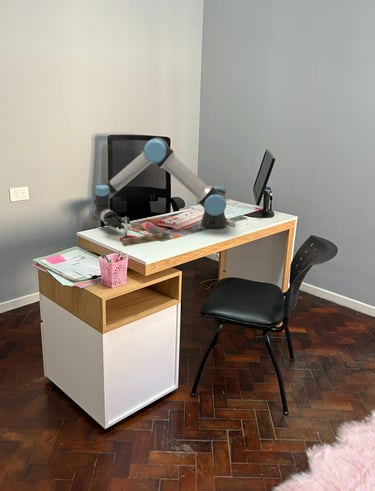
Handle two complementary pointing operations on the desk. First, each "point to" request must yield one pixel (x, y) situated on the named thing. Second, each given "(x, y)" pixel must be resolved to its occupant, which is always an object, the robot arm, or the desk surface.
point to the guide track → (147, 236)
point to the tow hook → (126, 232)
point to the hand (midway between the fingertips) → (129, 228)
